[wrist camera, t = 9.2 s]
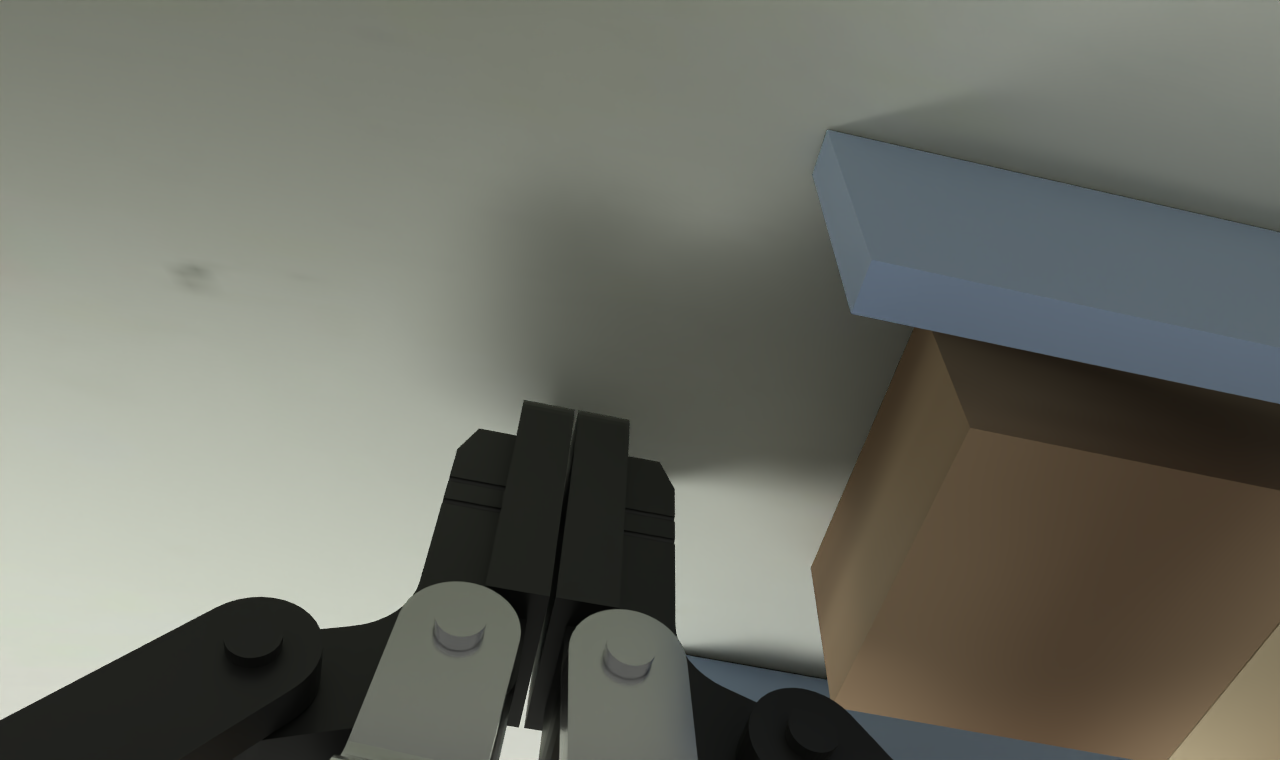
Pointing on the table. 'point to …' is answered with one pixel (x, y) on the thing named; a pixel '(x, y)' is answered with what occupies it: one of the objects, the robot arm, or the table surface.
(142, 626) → the table surface
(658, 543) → the robot arm
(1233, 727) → the light wood block
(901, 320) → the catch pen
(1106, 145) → the table surface
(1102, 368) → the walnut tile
